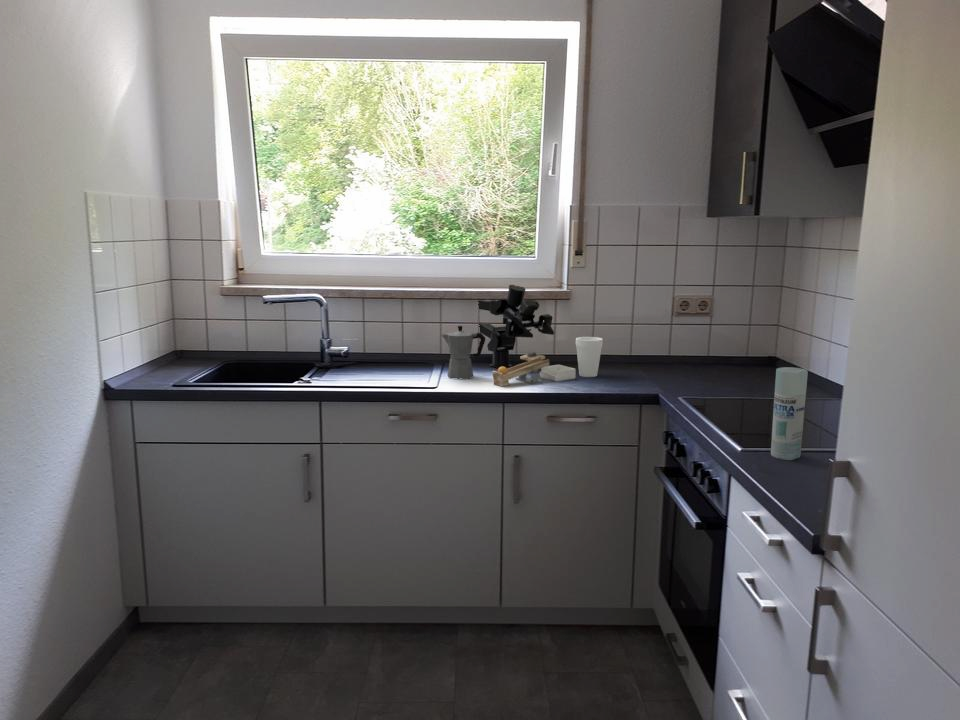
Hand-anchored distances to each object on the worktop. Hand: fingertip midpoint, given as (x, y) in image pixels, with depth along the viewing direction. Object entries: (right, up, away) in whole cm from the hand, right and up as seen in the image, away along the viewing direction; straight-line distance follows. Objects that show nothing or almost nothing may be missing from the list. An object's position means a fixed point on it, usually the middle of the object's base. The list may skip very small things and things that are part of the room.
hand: (543, 334), depth 249 cm
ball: (-14, -12, -10) cm, 21 cm away
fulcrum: (-5, -16, -3) cm, 17 cm away
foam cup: (+17, -14, +7) cm, 23 cm away
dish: (+5, -15, +3) cm, 16 cm away
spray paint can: (+48, -31, -84) cm, 102 cm away
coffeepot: (-27, -15, +5) cm, 32 cm away
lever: (-8, -13, 0) cm, 15 cm away
